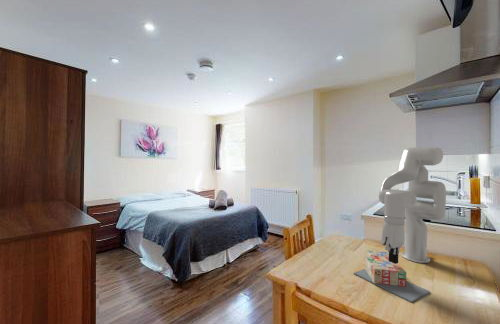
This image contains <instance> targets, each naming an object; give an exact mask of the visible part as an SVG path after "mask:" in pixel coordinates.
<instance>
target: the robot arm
mask: <svg viewBox="0 0 500 324" xmlns="http://www.w3.org/2000/svg"><path fill="white" fill-rule="evenodd" d="M443 158H444V152H443V150H442V148H441V147H439V146H434V147H433V146H431V147H430V146H427V147H425V146H424V147H421V146H420V147H419V146H418V147H408V148H405V149H404V150H403V151H402V153H401V156H400V159H399V163H398V166H397V170H396V171H395V172H393V173H392V174H390V175H389V176H387V177H386V178H385V179H384V180H383V181H382V183H381V187H380V190H379V193H378V200H379V202H380V203H381V204H383V205H384V212H383V213H384V216H383V219H384V220H383V226H382V233H381V245H382V246H385V248H384V250H385V251H386V252H387V253H388V255H389V262H392V263H394V264H397V263H398V264H399V254H400V250H401V248H402V247H403V246H404V251H403V252H401V257H403V258H404V259H405V260H407V261H411V262H414V263H419V264H428V263H430V262H431V258H430V257H429V256H428V253H429V252H430V251H429V249H428V226H427V225H426V223H425V221H424V220H429V221H433V222H434V221H435V222H442V221H443V220H445V217H446V204H447V203H446V202H447V188H446V185H445V184H444V183H443V182H441V181H439V180H436V181H435V180H429V170H428V169H427V168H426V166H436V165H439V164H440V163H441V162H442V161H443ZM405 183H408V186H407V188H408V190H405V189H403V190H400V189H392V188H393V187H395V186H398V185H401V184H405ZM417 198H418V199H417ZM421 199H428V200H430V201H428V200H421ZM431 200H433V201H431Z"/></svg>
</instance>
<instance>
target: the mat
mask: <svg viewBox="0 0 500 324" xmlns="http://www.w3.org/2000/svg"><path fill="white" fill-rule="evenodd" d="M353 275H355V276H356V277H358V278H361V279H363V280H365V281H367V282H369V283H371V284H373V285H374V286H376V287H379V288H381V289H382V290H385V291H386V292H389V293H391V294H393V295H395V296H397V297H399V298H401V299H403V300H405V301H407V302H409V303H411V304H412V303H414V302H416V301H418V300H419V299H421V298H423V297H425V296H427V295H429V294H430V293H431V291H430V290H427V288H426V289H425V288H423V287H421V286H418V285H416V284H414V283H413V282H412V283H411V282H410V281H407V280H406V287H403V286H395V285H385V284H378V283H374V282H373V281H372V279H371V278H370V276H369V275H368V273H367V272H366V270H365V268H364V269H363V268H362V269H361V270H358V271H355V272H353Z"/></svg>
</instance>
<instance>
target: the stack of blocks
mask: <svg viewBox="0 0 500 324" xmlns="http://www.w3.org/2000/svg"><path fill="white" fill-rule="evenodd" d="M364 260H365V261H364V262H365V267H364V269H365V270H366V272H367V273H368V275H369V276H370V278H371V279H372V281H373V282H374V283H378V284H385V285H395V286H403V287H406V281H407V272H406V270H405V269H404V268H403V267H402V266H401V265H400V264H399V262H398V263H397V264H394V263H392V262H389V253H388V251H377V250H373V251H372V250H366V256H365V259H364Z"/></svg>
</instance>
